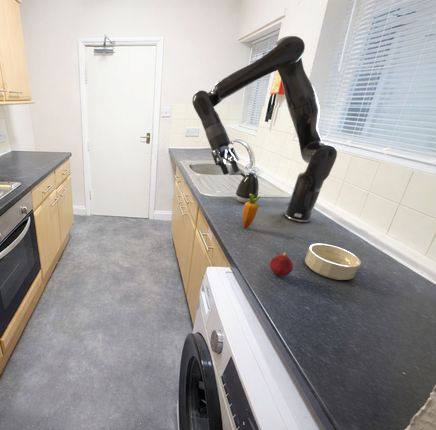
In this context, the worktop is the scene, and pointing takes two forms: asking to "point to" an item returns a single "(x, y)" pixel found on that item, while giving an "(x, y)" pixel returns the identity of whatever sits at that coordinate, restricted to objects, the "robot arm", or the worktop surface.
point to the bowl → (332, 261)
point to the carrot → (250, 211)
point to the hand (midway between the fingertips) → (232, 172)
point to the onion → (281, 265)
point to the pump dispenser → (247, 187)
